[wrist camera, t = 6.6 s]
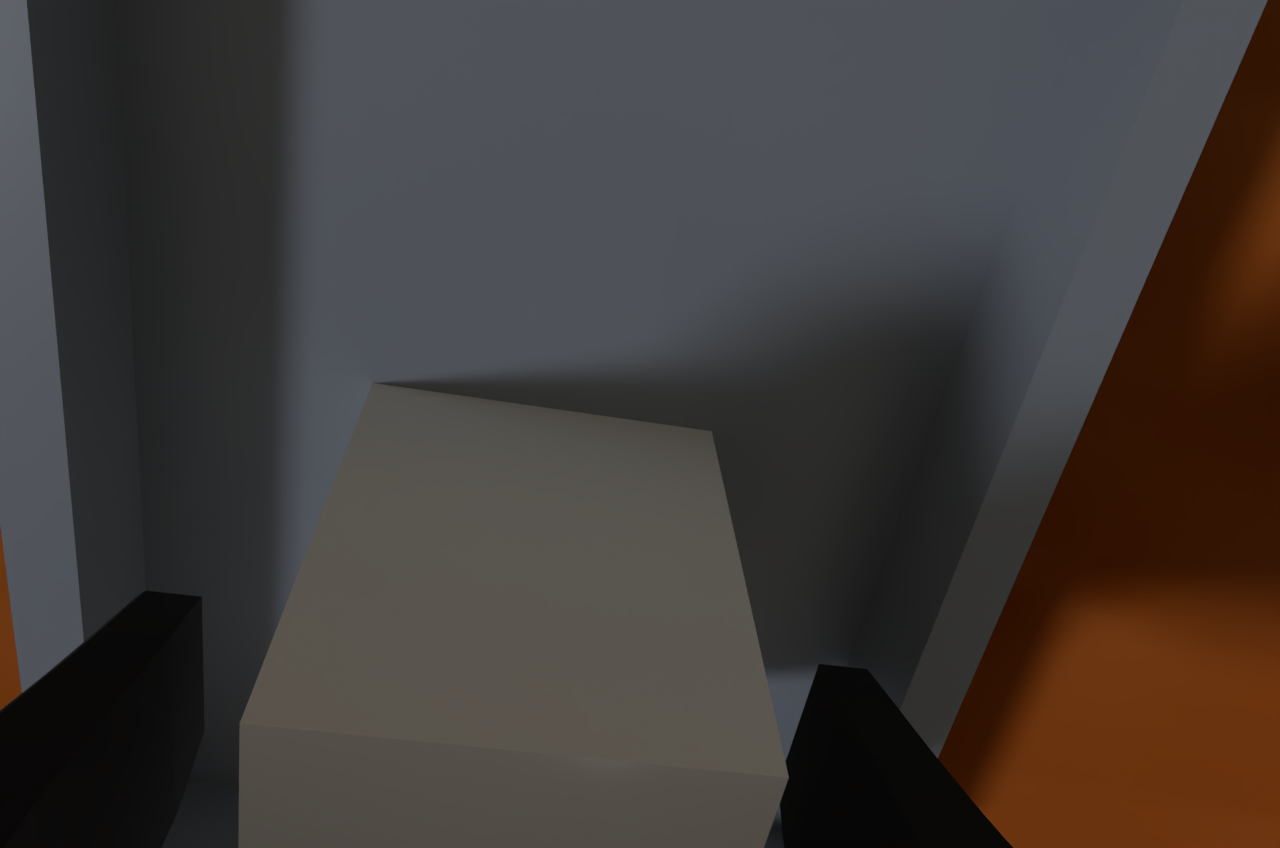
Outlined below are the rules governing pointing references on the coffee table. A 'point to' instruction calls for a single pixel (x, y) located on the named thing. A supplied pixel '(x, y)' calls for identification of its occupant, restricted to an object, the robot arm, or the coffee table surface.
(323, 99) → the grey tray
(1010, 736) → the coffee table surface
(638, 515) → the cream block
